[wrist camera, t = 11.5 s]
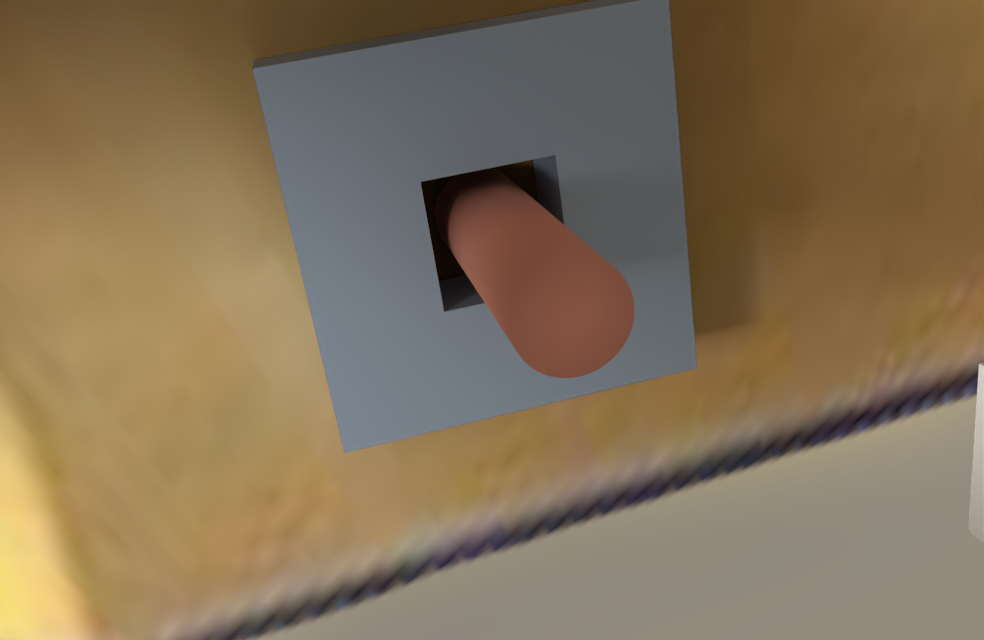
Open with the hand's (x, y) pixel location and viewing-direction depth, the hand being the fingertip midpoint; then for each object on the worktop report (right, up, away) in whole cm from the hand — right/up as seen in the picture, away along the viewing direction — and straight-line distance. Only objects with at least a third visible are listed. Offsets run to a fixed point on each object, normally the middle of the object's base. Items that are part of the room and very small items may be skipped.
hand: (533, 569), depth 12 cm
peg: (-1, +8, +30) cm, 31 cm away
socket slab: (-1, +8, +30) cm, 31 cm away
